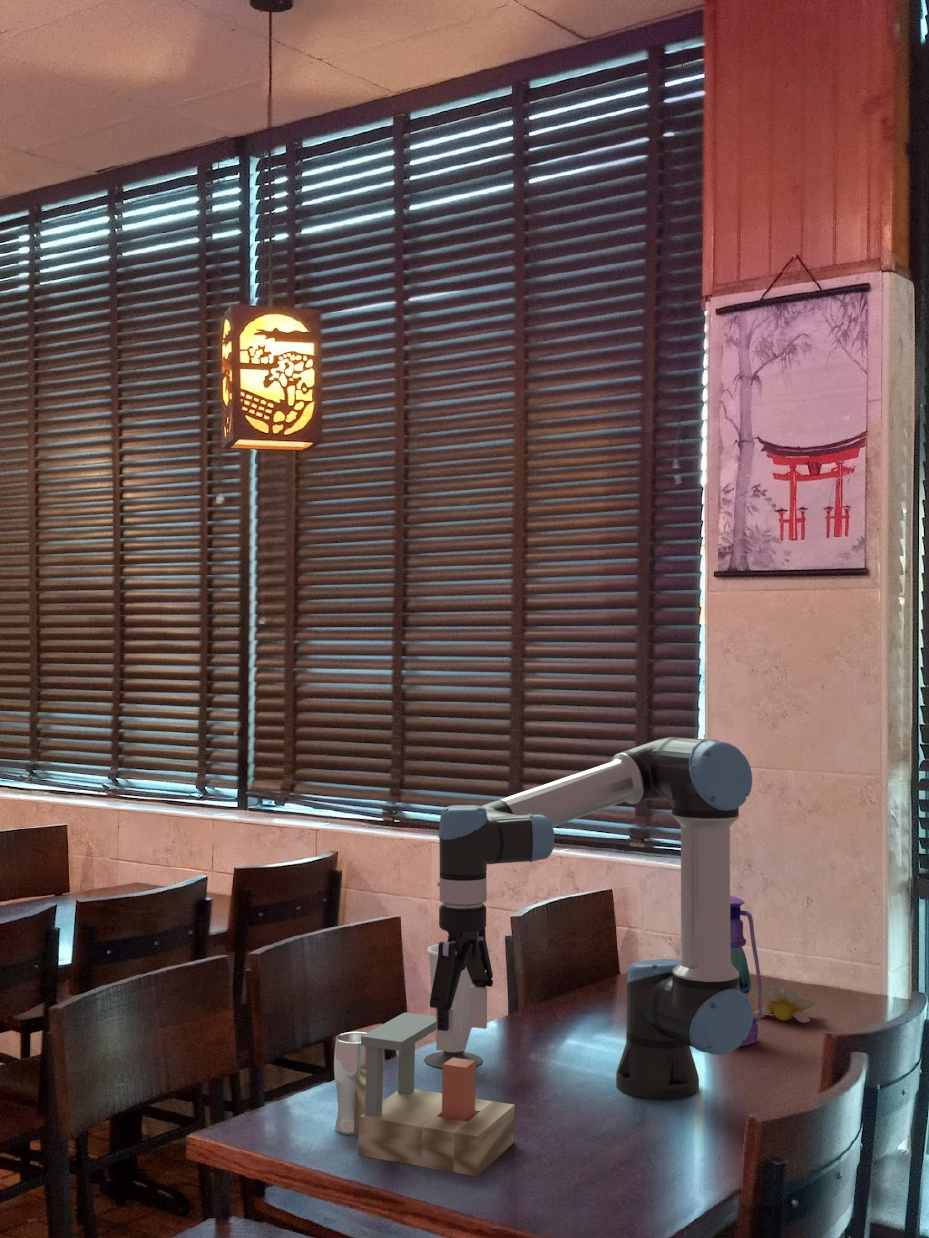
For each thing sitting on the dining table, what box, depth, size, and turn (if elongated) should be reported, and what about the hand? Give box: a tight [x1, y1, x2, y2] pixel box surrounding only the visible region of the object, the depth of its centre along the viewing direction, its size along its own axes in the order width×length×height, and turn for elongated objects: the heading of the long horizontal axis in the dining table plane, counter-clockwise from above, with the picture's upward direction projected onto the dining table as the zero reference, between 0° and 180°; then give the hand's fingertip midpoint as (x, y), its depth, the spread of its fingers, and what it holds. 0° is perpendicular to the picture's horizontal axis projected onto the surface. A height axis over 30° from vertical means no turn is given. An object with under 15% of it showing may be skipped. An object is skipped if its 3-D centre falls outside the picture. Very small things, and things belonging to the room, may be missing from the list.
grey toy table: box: [361, 1012, 436, 1117], centre depth 212 cm, size 7×16×12 cm, turn 157°
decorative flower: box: [749, 986, 820, 1024], centre depth 292 cm, size 15×11×10 cm
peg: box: [441, 1058, 477, 1122], centre depth 208 cm, size 4×4×14 cm
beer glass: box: [333, 1031, 367, 1136], centre depth 217 cm, size 7×7×15 cm
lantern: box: [730, 895, 763, 1047], centre depth 274 cm, size 13×12×30 cm
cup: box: [423, 943, 484, 1070], centre depth 256 cm, size 12×12×22 cm
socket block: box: [357, 1088, 516, 1178], centre depth 209 cm, size 20×16×6 cm
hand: (462, 1038), depth 208 cm, fingers open, 13 cm apart
